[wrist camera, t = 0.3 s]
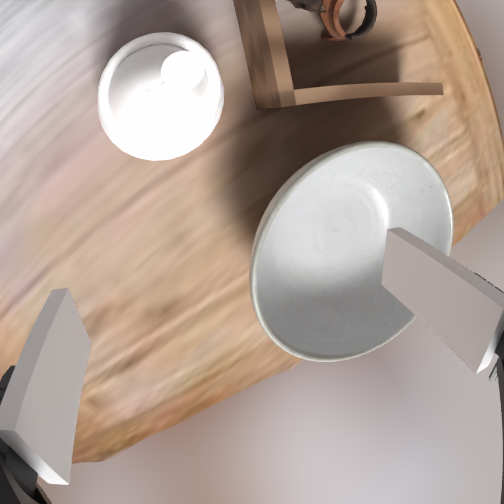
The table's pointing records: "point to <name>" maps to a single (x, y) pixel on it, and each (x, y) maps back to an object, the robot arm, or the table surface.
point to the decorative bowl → (343, 248)
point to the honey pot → (160, 96)
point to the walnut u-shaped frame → (278, 72)
